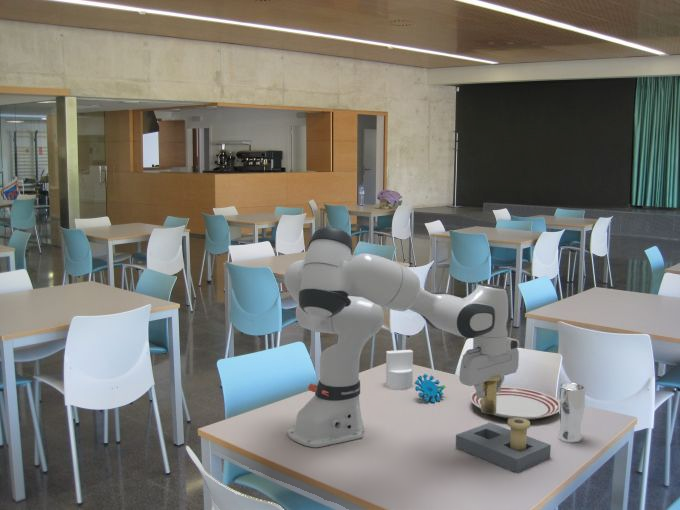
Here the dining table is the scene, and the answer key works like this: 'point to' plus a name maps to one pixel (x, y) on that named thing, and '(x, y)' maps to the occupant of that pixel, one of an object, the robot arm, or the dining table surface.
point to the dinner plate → (521, 403)
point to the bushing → (489, 395)
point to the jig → (504, 445)
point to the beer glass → (571, 411)
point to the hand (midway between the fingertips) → (488, 394)
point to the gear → (429, 388)
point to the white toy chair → (399, 369)
